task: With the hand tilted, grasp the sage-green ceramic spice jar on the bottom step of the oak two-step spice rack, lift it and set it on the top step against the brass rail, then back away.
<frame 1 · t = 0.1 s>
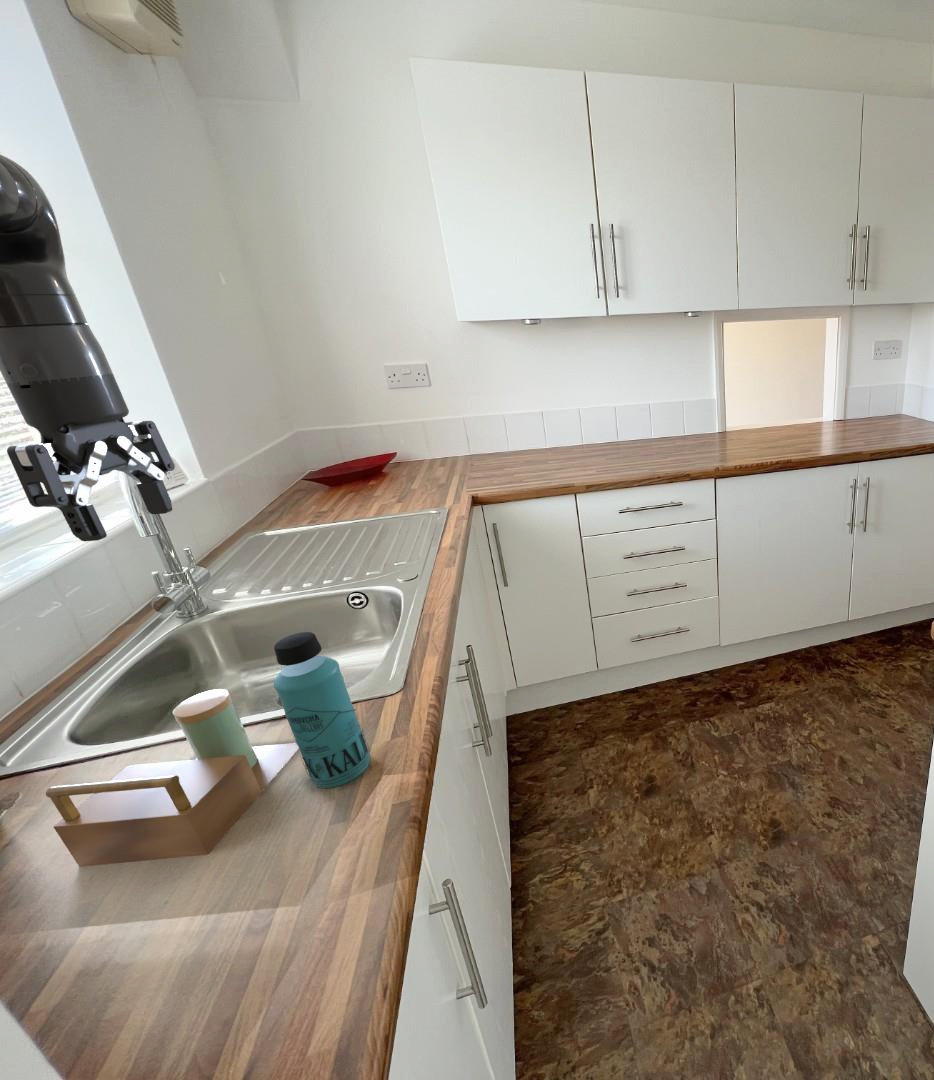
hand: (130, 525, 64), 33 cm above the worktop, tool pointing down, fingers open, 8 cm apart
spice jar: (232, 768, 72), point 1 cm above the worktop, touching spice rack
beverage bottle: (347, 780, 72), on the worktop
spice rack: (210, 806, 69), on the worktop
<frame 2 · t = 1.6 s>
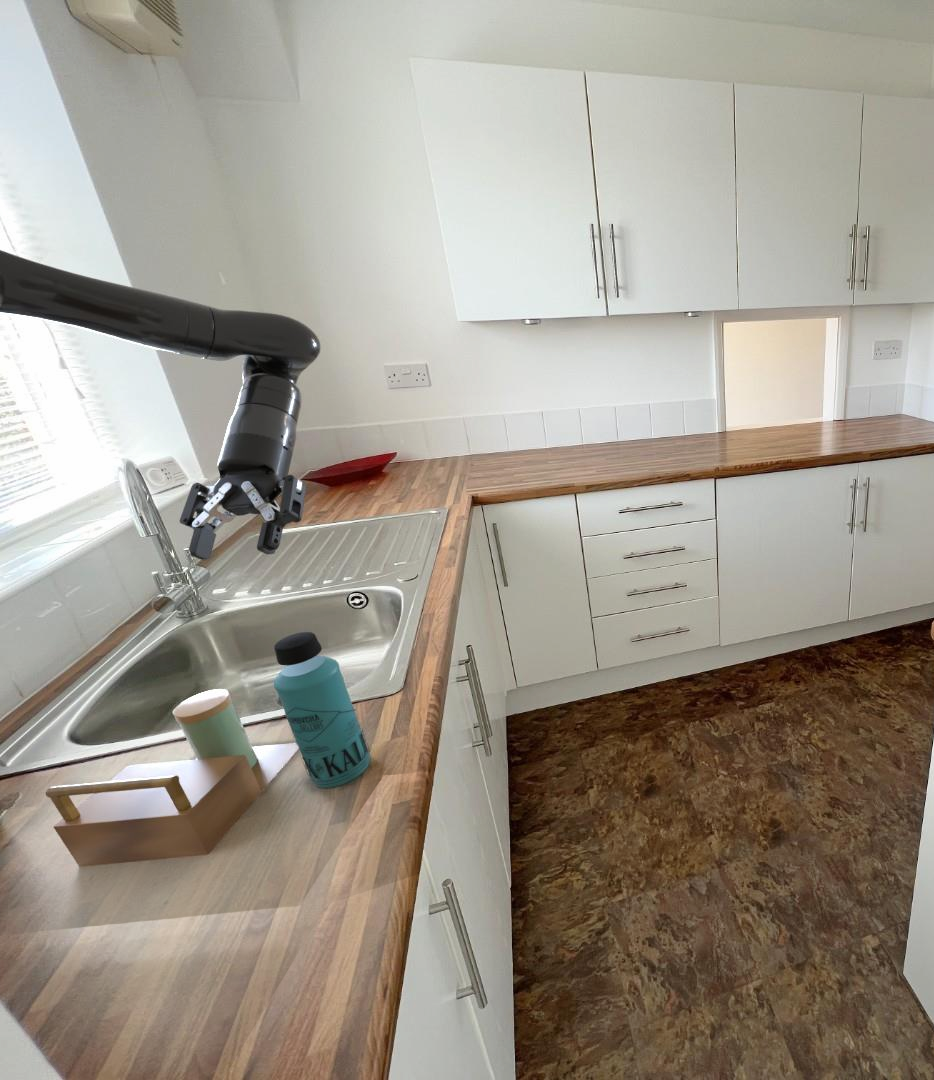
hand: (232, 554, 75), 25 cm above the worktop, tool tilted 45°, fingers open, 8 cm apart
nothing on the worktop moved.
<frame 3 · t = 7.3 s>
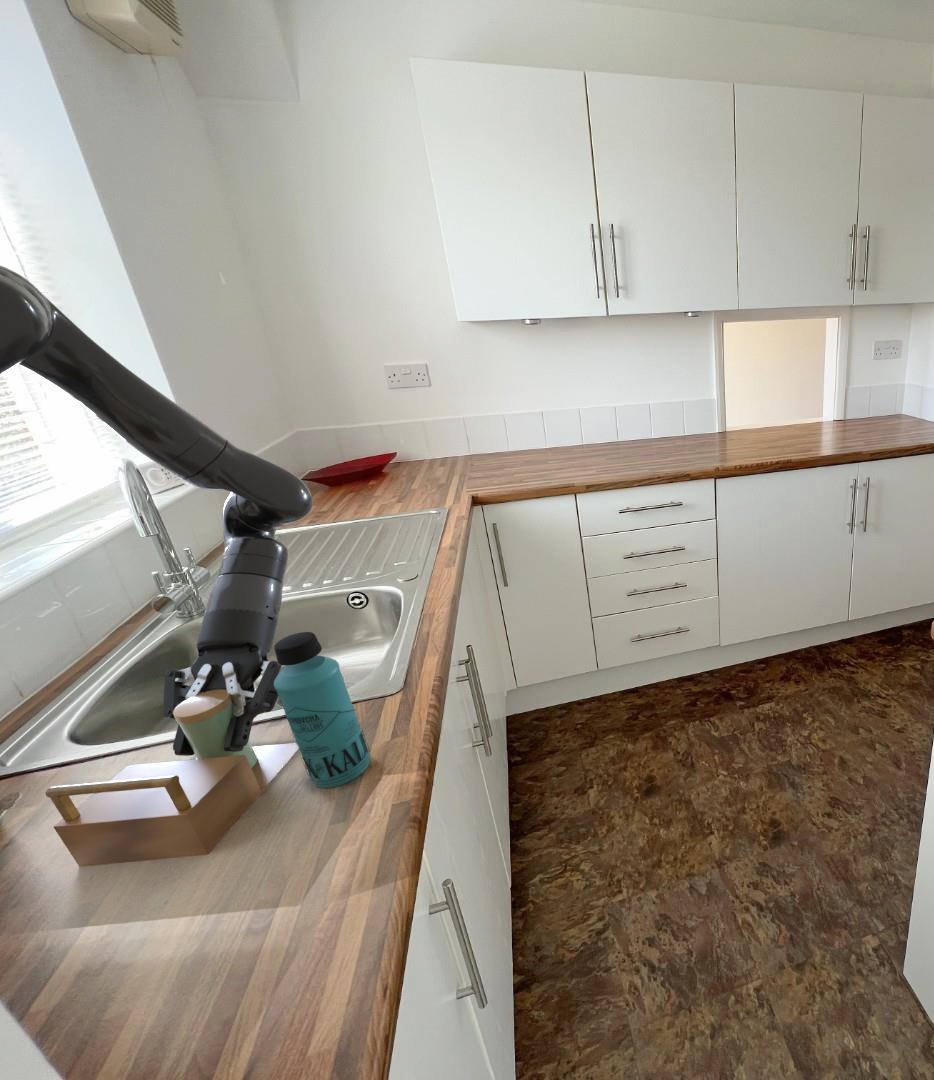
hand: (209, 752, 69), 6 cm above the worktop, tool tilted 45°, fingers closed on spice jar, 5 cm apart
spice jar: (232, 768, 72), point 2 cm above the worktop, touching gripper, spice rack
everything else where it was.
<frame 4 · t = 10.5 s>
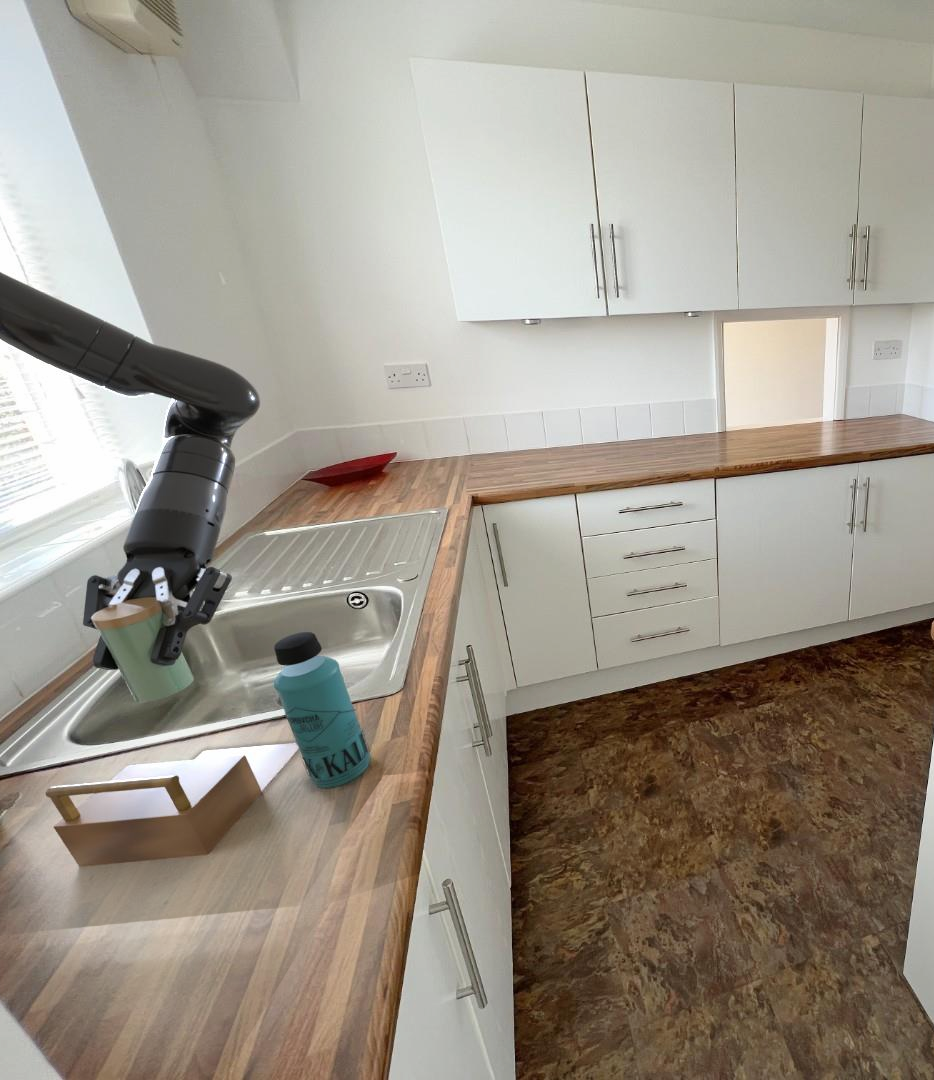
hand: (134, 665, 61), 20 cm above the worktop, tool tilted 45°, fingers closed on spice jar, 5 cm apart
spice jar: (164, 688, 64), point 16 cm above the worktop, touching gripper
everything else where it was.
when the fingers open (11 cm above the worktop, at t = 14.2 s): spice jar stays where it is, resting on spice rack.
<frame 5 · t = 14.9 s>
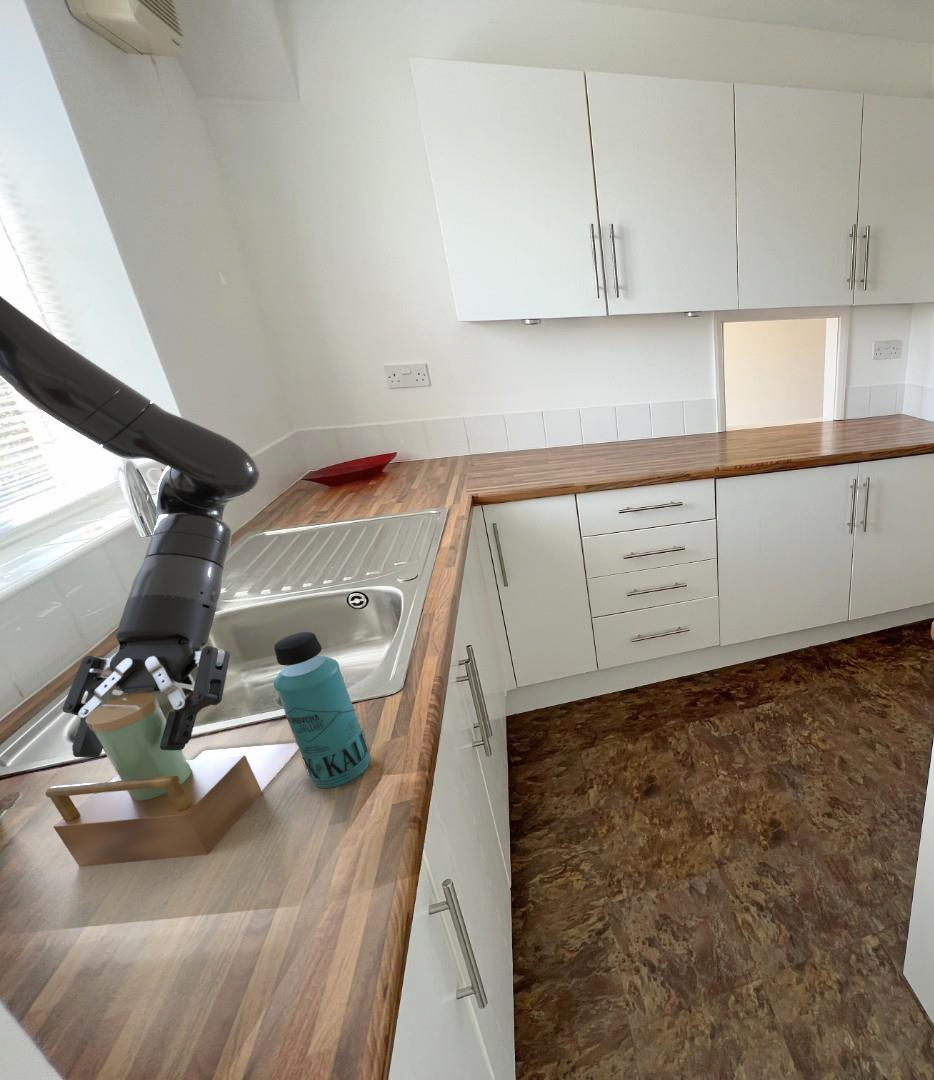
hand: (129, 753, 60), 12 cm above the worktop, tool tilted 45°, fingers open, 8 cm apart
spice jar: (161, 782, 63), point 7 cm above the worktop, touching spice rack
everything else where it was.
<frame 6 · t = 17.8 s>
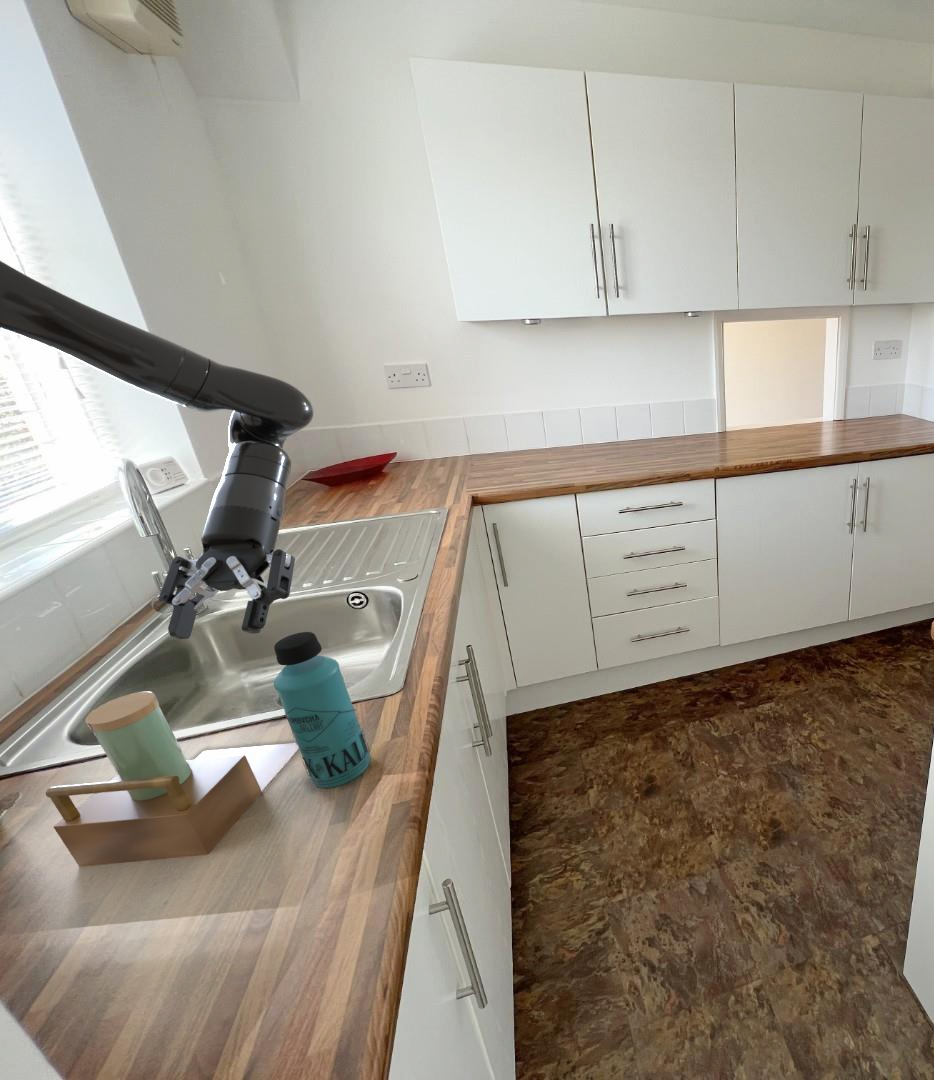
hand: (215, 634, 71), 18 cm above the worktop, tool tilted 45°, fingers open, 8 cm apart
nothing on the worktop moved.
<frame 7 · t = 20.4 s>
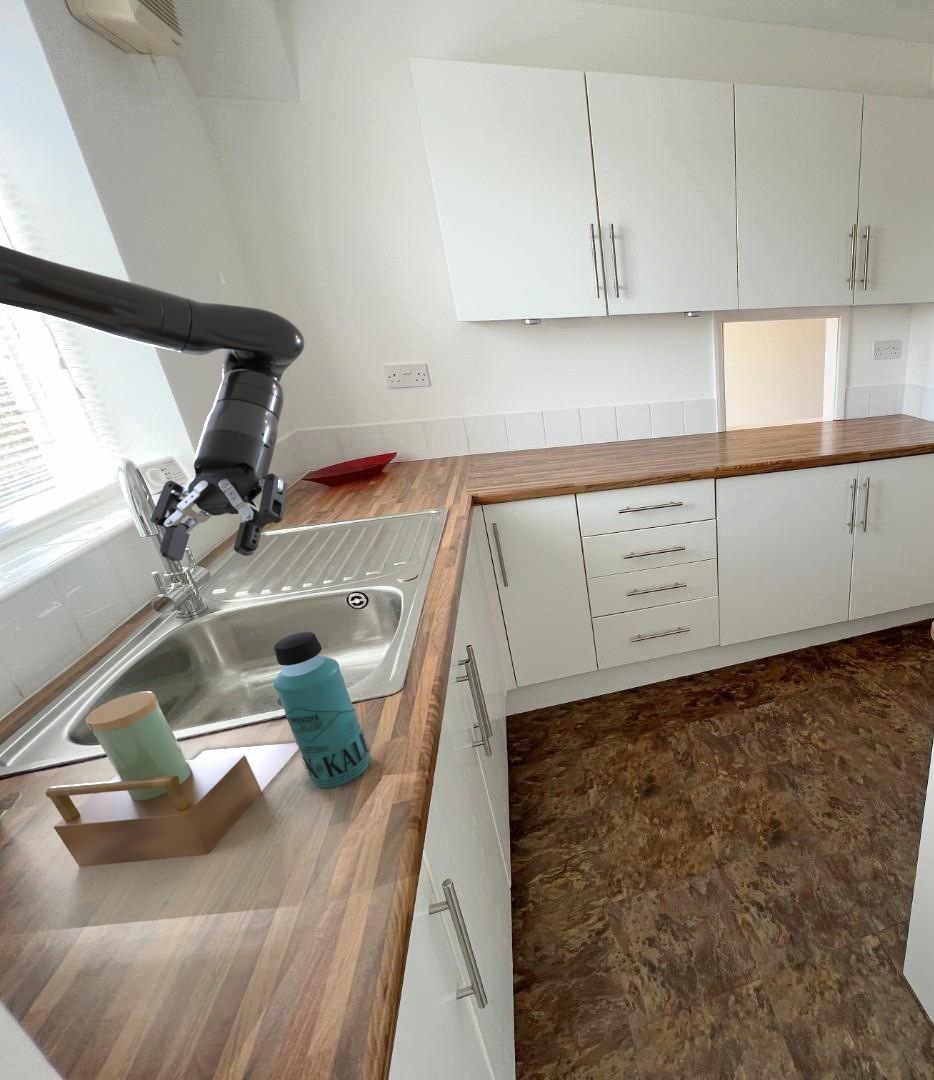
hand: (207, 556, 71), 27 cm above the worktop, tool tilted 45°, fingers open, 8 cm apart
nothing on the worktop moved.
at the end: spice jar inside the target area on the spice rack (0.1 cm from its centre), point 7.0 cm above the spice rack's base; spice jar tilted 0°; the gripper is holding nothing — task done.
